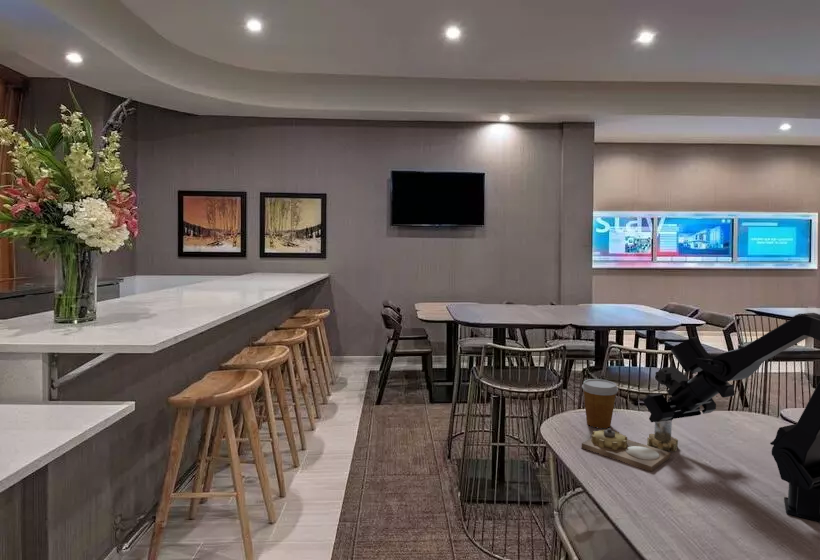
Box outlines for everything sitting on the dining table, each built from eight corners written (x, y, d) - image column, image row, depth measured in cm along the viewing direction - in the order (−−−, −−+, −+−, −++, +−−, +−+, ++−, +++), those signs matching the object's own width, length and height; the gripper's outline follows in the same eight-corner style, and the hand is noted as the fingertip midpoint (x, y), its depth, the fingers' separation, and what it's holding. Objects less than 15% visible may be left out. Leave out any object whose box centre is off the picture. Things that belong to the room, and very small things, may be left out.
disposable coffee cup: (599, 416, 144) (600, 377, 143) (624, 428, 135) (625, 386, 134) (573, 421, 140) (574, 380, 139) (597, 433, 131) (598, 389, 130)
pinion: (675, 454, 118) (677, 412, 117) (645, 447, 122) (647, 407, 121) (678, 444, 124) (680, 404, 123) (650, 438, 128) (651, 399, 127)
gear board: (670, 457, 116) (671, 438, 116) (651, 471, 109) (652, 451, 109) (602, 436, 129) (603, 419, 129) (581, 447, 122) (582, 429, 121)
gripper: (707, 356, 121) (667, 387, 132) (650, 362, 114) (614, 394, 125) (736, 396, 114) (692, 425, 125) (678, 405, 107) (637, 435, 118)
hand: (658, 419), depth 124 cm, fingers open, 5 cm apart
